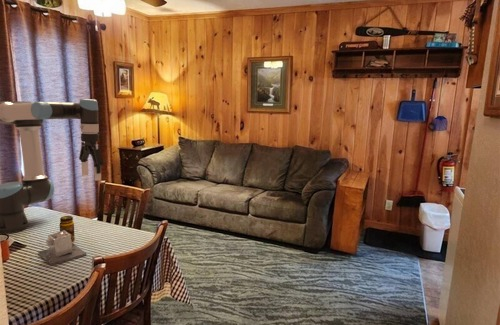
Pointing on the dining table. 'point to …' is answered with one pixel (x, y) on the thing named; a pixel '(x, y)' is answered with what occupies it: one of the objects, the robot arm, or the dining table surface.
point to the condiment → (68, 226)
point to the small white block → (59, 244)
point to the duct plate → (66, 257)
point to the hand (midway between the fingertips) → (91, 177)
